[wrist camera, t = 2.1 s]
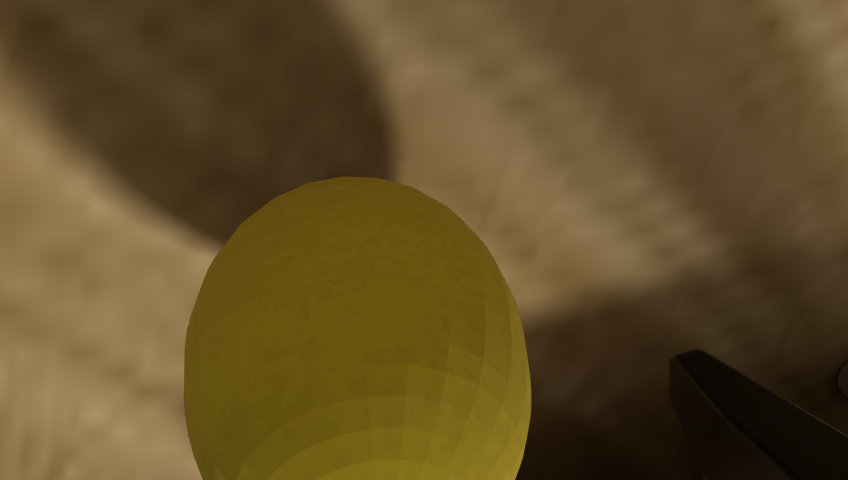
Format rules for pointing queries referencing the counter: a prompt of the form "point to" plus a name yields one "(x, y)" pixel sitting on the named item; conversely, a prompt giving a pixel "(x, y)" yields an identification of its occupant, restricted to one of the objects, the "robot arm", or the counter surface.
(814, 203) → the counter surface
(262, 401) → the lemon
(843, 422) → the counter surface
